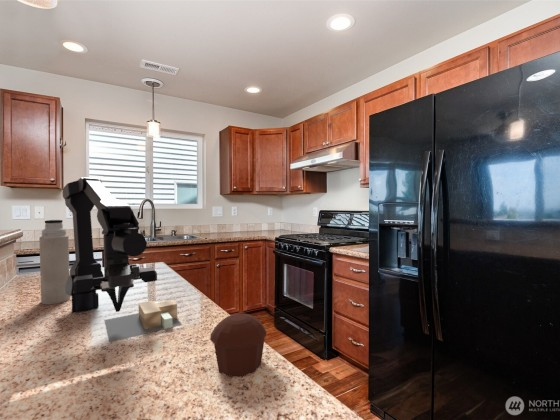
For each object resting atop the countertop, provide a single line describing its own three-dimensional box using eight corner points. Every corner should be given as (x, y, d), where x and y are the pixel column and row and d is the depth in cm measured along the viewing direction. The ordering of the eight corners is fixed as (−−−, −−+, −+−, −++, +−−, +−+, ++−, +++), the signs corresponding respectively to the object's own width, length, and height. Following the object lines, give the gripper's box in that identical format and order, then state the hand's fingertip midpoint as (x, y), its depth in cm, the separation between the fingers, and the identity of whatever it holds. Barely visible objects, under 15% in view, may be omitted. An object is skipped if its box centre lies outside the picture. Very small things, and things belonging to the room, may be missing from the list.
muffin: (241, 345, 69) (241, 303, 69) (277, 361, 62) (277, 314, 62) (198, 368, 60) (198, 319, 60) (235, 389, 53) (235, 334, 52)
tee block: (144, 329, 76) (144, 314, 76) (138, 316, 85) (138, 303, 85) (180, 321, 81) (179, 306, 81) (171, 310, 90) (170, 297, 90)
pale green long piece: (164, 329, 76) (164, 319, 76) (152, 310, 90) (151, 302, 90) (172, 327, 78) (172, 317, 77) (158, 309, 91) (158, 301, 91)
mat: (109, 345, 69) (109, 342, 69) (104, 322, 83) (104, 320, 83) (182, 327, 79) (182, 324, 79) (167, 309, 92) (167, 307, 92)
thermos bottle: (59, 295, 107) (57, 219, 106) (75, 298, 104) (73, 219, 104) (35, 302, 99) (33, 220, 99) (51, 305, 97) (49, 220, 96)
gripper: (72, 261, 65) (74, 331, 65) (161, 252, 75) (162, 313, 76) (73, 254, 74) (74, 315, 74) (152, 247, 85) (153, 301, 85)
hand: (117, 311), depth 77 cm, fingers closed
